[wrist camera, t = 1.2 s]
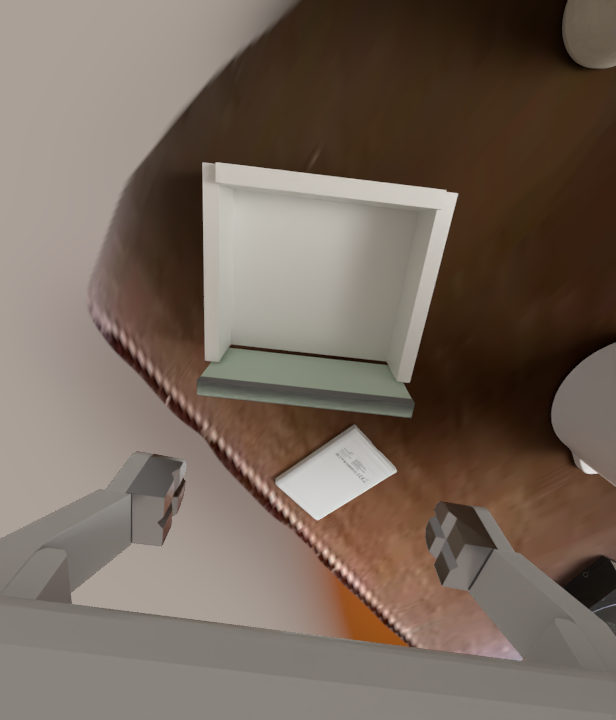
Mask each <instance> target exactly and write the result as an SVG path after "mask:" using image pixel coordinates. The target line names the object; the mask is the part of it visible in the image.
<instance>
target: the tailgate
mask: <svg viewBox="0 0 616 720" xmlns="http://www.w3.org/2000/svg"><path fill="white" fill-rule="evenodd" d="M197 395H200V396H210V397H219V398H228V399H238V400H247V401H256V402H266V403H275V404H285V405H294V406H303V407H313V408H322V409H332V410H341V411H350V412H360V413H369V414H379V415H388V416H397V417H407V418H411V417H412V413H413V410H414V406H415V403H414V401H413V399H412V398H411V396H410V395H409V393H408V391H407V389H406V387H405V385H404V383H403V382H397V381H396V380H395V378H394V376H393V374H392V372H391V370H390V368H389V366H388V365H382V364H373V363H363V362H354V361H345V360H336V359H327V358H318V357H309V356H300V355H291V354H281V353H272V352H263V351H254V350H245V349H236V348H228V349H227V351H226V352H225V354H224V355H223V357H222V358H221V360H220V361H219V362H213V361H212V362H211V363H210V364H209V366H208V367H207V368H206V370H205V371H204V372H203V374H202V375H201V376H200V377H199V378H198V380H197Z"/></svg>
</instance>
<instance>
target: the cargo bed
mask: <svg viewBox="0 0 616 720" xmlns="http://www.w3.org/2000/svg"><path fill="white" fill-rule="evenodd" d="M202 176H203V255H204V333H205V361H213V362H219V361H220V360H221V358H222V357H223V355H224V354H225V352H226V351H227V349H228V348H229V347H230V345H231V344H232V345H241V346H250V347H259V348H268V349H277V350H287V351H296V352H305V353H314V354H323V355H332V356H341V357H350V358H359V359H368V360H378V361H386V362H387V364H388V366H389V368H390V370H391V372H392V374H393V376H394V378H395V380H396V381H397V382H406V383H410V380H411V376H412V372H413V369H414V365H415V361H416V357H417V353H418V349H419V345H420V341H421V337H422V333H423V329H424V325H425V322H426V318H427V314H428V310H429V306H430V302H431V298H432V294H433V290H434V286H435V282H436V278H437V274H438V271H439V267H440V263H441V259H442V255H443V251H444V247H445V243H446V239H447V235H448V231H449V227H450V224H451V220H452V216H453V212H454V208H455V204H456V200H457V196H458V193H451V192H446V190H442V189H433V188H425V187H417V186H409V185H400V184H392V183H384V182H376V181H367V180H359V179H351V178H343V177H334V176H326V175H318V174H310V173H301V172H293V171H285V170H277V169H268V168H260V167H252V166H244V165H235V164H227V163H219V162H216V164H212V163H203V162H202Z"/></svg>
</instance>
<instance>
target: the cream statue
mask: <svg viewBox="0 0 616 720" xmlns="http://www.w3.org/2000/svg"><path fill="white" fill-rule="evenodd" d="M562 34H563V41H564V44H565V47H566V50H567V52H568V54H569V55H570V56H571V58H572V59H573V60H574V61H575V62H576V63H578V64H579V65H582V66H584V67H587V68H609V67H613V66H616V0H568V1H567V3H566V7H565V10H564V15H563V22H562Z"/></svg>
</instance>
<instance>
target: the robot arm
mask: <svg viewBox="0 0 616 720" xmlns="http://www.w3.org/2000/svg"><path fill="white" fill-rule="evenodd" d="M551 420H552V426H553V429H554V431H555V433H556V435H557V436H558V438H559V439H560V440H561V441H562V442H563V443H564V444H565V445H566V446H567V447H568V448H569V449H570V450H571V451H572V454H573V458H574V462H575V464H576V466H577V467H578V468H579V469H581V470H582V471H583V472H585V473H587V474H600V475H601V476H602V477H604V478H605V479H606V480H608V481H609V482H610V483H611V484H613V485H614V486H615V487H616V343H613V344H611V345H608V346H606V347H604V348H602V349H600V350H598V351H597V352H595V353H593V354H592V355H590V356H589V357H587V358H586V359H585V360H583V361H582V362H581V363H580V364H579V365H577V366H576V367H575V368H574V369H573V370H572V371H571V372H570V374H569V375H568V376H567V377H566V379H565V380H564V381H563V383H562V384H561V386H560V388H559V389H558V391H557V393H556V396H555V398H554V401H553V405H552V411H551ZM186 471H187V461H186V460H184V459H178V458H173V457H168V456H163V455H157V454H150V453H145V452H139V451H137V452H135V453H133V454H132V455H131V457H130V458H129V459H128V461H127V462H126V463H125V465H124V466H123V468H121V470H120V471H119V472H118V474H117V475H116V476H115V478H114V479H113V480H112V482H111V483H110V484H109V485H108V487H107V488H106V490H102V489H99V490H97V491H95V492H93V493H91V494H89V495H87V496H85V497H83V498H81V499H79V500H77V501H75V502H73V503H71V504H69V505H67V506H65V507H63V508H61V509H59V510H57V511H55V512H53V513H51V514H49V515H47V516H45V517H43V518H41V519H39V520H37V521H35V522H33V523H31V524H29V525H27V526H25V527H23V528H21V529H19V530H17V531H15V532H13V533H11V534H9V535H7V536H5V537H3V538H1V539H0V720H616V636H615V635H614V633H613V632H612V631H611V629H610V628H609V626H608V625H607V624H606V623H605V622H604V621H603V620H601V619H600V618H599V617H598V616H596V615H595V614H594V613H593V612H591V611H590V610H589V609H588V608H587V607H585V606H584V605H583V604H582V603H580V602H579V601H578V600H577V599H575V598H574V597H573V596H572V595H571V594H569V593H568V592H567V591H566V590H564V589H563V588H562V587H561V586H559V585H558V584H557V583H556V582H555V581H553V580H552V579H551V578H550V577H548V576H547V575H546V574H545V573H543V572H542V571H541V570H540V569H539V568H537V567H536V566H535V565H534V564H532V563H531V562H530V561H529V560H527V559H526V558H525V557H524V556H523V555H521V554H520V553H515V551H514V550H513V548H512V547H511V545H510V544H509V542H508V540H507V539H506V537H505V536H504V534H503V532H502V531H501V529H500V528H499V526H498V525H497V523H496V521H495V520H494V518H493V517H492V515H491V513H490V512H489V511H488V510H487V509H486V508H484V507H477V506H468V505H462V504H455V503H449V502H442V501H440V502H439V503H437V504H436V506H435V508H434V512H435V514H436V516H434V517H433V518H431V519H430V520H429V521H428V524H427V526H426V533H425V538H426V544H427V547H428V550H429V552H430V553H431V554H432V555H433V556H434V557H435V558H436V561H435V563H434V566H435V569H436V572H437V574H438V577H439V580H440V582H441V585H442V586H444V587H449V588H455V589H461V590H467V591H469V593H470V595H471V596H472V597H473V598H474V600H475V601H476V602H477V603H478V604H479V606H480V607H481V608H482V609H483V610H484V612H485V613H486V614H487V615H488V616H489V618H490V619H491V620H492V621H493V622H494V624H495V625H496V626H497V627H498V629H499V630H500V631H501V632H502V633H503V635H504V636H505V637H506V638H507V639H508V641H509V642H510V643H511V644H512V645H513V647H514V648H515V649H516V650H517V652H518V653H519V654H520V655H521V656H522V658H523V660H522V661H517V660H509V659H501V658H493V657H486V656H478V655H470V654H462V653H454V652H446V651H438V650H430V649H422V648H414V647H405V646H398V645H389V644H382V643H373V642H366V641H357V640H349V639H342V638H334V637H326V636H319V635H310V634H303V633H294V632H287V631H279V630H272V629H264V628H256V627H248V626H240V625H232V624H224V623H217V622H208V621H201V620H193V619H185V618H177V617H169V616H161V615H153V614H145V613H138V612H129V611H121V610H113V609H106V608H98V607H90V606H82V605H74V604H72V602H71V592H73V591H74V590H75V589H76V588H77V587H79V586H80V585H81V584H83V583H84V582H85V581H86V580H87V579H89V578H90V577H91V576H92V575H94V574H95V573H96V572H97V571H99V570H100V569H101V568H102V567H103V566H105V565H106V564H107V563H109V562H110V561H111V560H112V559H113V558H115V557H116V556H117V555H118V554H120V553H121V552H122V551H123V550H125V549H126V548H127V547H128V546H130V545H131V543H136V544H145V545H155V546H162V545H163V543H164V541H165V539H166V536H167V534H168V532H169V530H170V528H171V523H172V516H174V515H175V514H177V512H178V510H179V508H180V505H181V502H182V499H183V496H184V491H185V483H186V481H185V480H184V478H183V477H184V474H185V473H186Z"/></svg>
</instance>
